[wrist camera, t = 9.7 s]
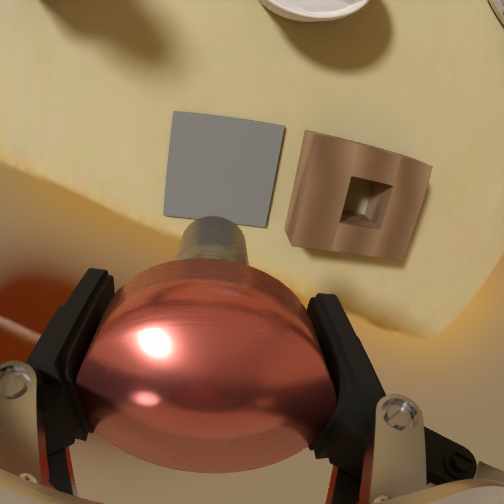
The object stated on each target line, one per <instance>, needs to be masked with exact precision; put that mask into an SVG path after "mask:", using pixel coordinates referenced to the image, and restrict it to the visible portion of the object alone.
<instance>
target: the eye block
mask: <svg viewBox="0 0 504 504" xmlns="http://www.w3.org/2000/svg"><path fill="white" fill-rule="evenodd" d="M432 168H433V167H432V166H430V165H428V164H425V163H423V162H421V161H418V160H416V159H413V158H411V157H407V156H404V155H401V154H398V153H394V152H391V151H387V150H384V149H380V148H377V147H373V146H370V145H366V144H362V143H358V142H354V141H351V140H347V139H342V138H338V137H334V136H330V135H325V134H321V133H316V132H312V131H307V130H305V133H304V138H303V143H302V148H301V153H300V158H299V163H298V168H297V173H296V177H295V182H294V187H293V192H292V196H291V201H290V206H289V210H288V215H287V220H286V224H285V231H286V234H287V236H288V238H289V241H290V243H291V245H292V246H294V247H302V248H310V249H318V250H326V251H334V252H342V253H350V254H357V255H365V256H373V257H381V258H388V259H396V260H403V258H404V256H405V253H406V250H407V247H408V245H409V242H410V239H411V236H412V233H413V230H414V227H415V224H416V221H417V218H418V215H419V212H420V209H421V206H422V203H423V199H424V196H425V193H426V189H427V186H428V182H429V179H430V175H431V171H432ZM351 176H354V177H358V178H363V179H367V180H372V181H374V184H373V188H372V191H371V195H370V199H369V202H368V206H367V209H366V213H365V215H362V214H356V213H351V212H345V211H343V207H344V203H345V199H346V195H347V192H348V188H349V184H350V180H351Z"/></svg>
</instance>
